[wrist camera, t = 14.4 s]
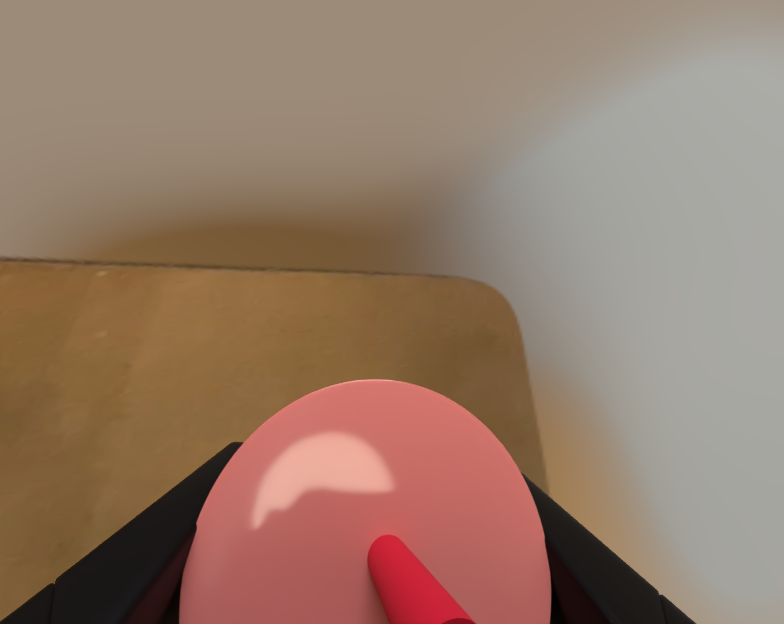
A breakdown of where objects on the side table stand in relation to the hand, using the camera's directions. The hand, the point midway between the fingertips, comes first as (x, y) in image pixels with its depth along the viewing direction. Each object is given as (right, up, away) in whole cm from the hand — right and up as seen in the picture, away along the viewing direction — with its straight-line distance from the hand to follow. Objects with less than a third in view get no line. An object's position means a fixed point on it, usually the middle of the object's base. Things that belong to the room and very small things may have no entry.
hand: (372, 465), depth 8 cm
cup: (-1, -4, +6) cm, 7 cm away
